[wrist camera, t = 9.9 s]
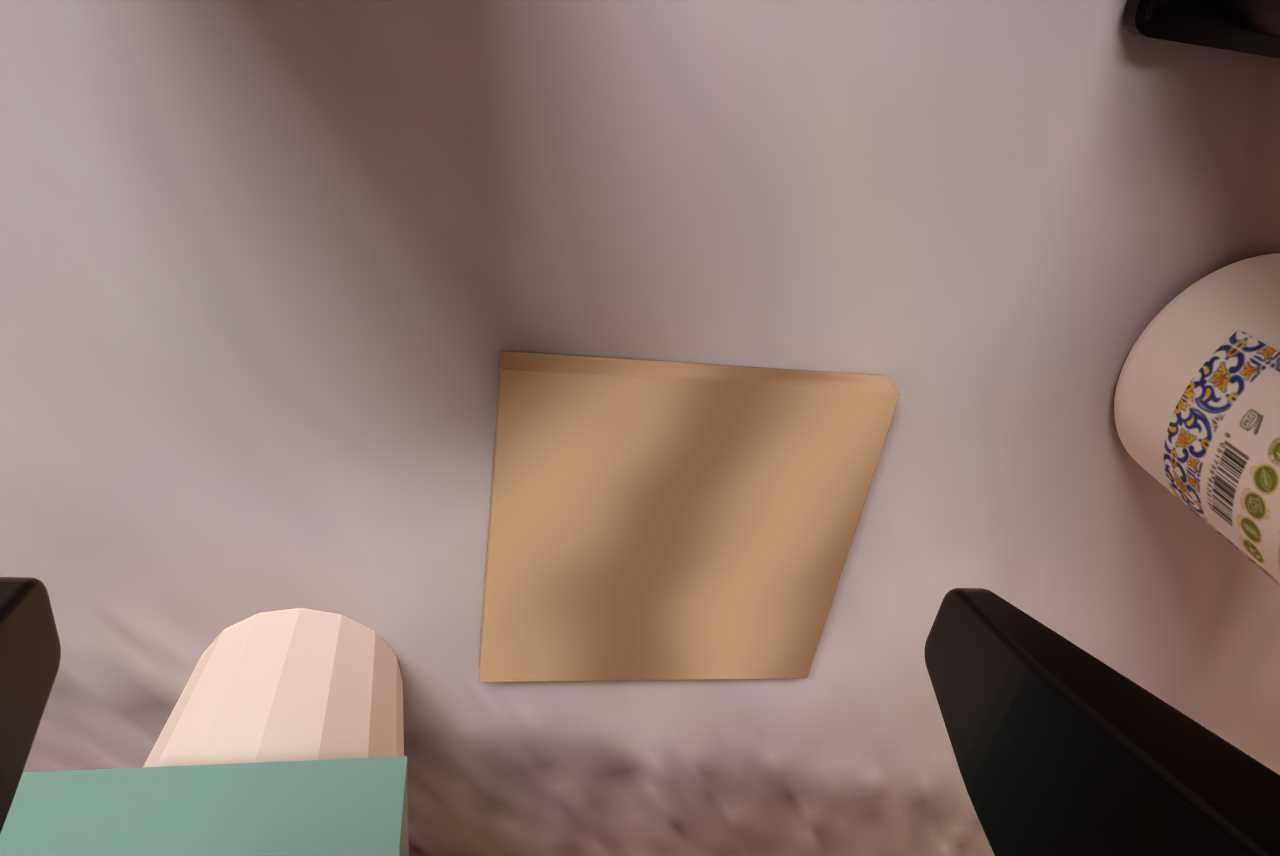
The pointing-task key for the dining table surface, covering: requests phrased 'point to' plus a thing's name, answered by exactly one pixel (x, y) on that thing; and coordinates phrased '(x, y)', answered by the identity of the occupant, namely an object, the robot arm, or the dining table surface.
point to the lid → (214, 810)
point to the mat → (670, 516)
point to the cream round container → (287, 695)
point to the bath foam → (1213, 404)
